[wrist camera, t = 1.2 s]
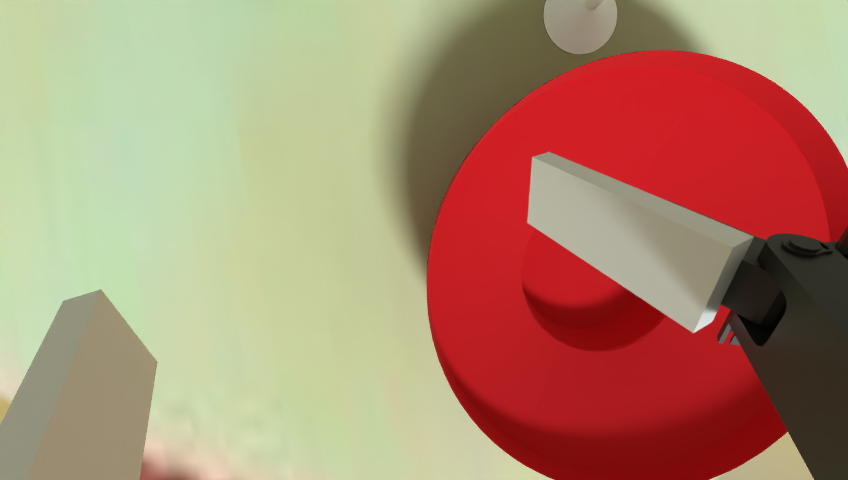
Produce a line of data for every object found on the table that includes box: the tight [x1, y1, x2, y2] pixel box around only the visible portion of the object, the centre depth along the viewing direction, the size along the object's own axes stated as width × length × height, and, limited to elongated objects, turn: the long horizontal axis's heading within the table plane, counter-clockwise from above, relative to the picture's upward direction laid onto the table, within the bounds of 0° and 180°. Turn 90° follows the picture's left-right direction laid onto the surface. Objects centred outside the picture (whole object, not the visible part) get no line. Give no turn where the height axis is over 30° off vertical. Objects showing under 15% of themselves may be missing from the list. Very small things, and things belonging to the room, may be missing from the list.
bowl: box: [427, 50, 848, 480], centre depth 30 cm, size 30×30×10 cm
